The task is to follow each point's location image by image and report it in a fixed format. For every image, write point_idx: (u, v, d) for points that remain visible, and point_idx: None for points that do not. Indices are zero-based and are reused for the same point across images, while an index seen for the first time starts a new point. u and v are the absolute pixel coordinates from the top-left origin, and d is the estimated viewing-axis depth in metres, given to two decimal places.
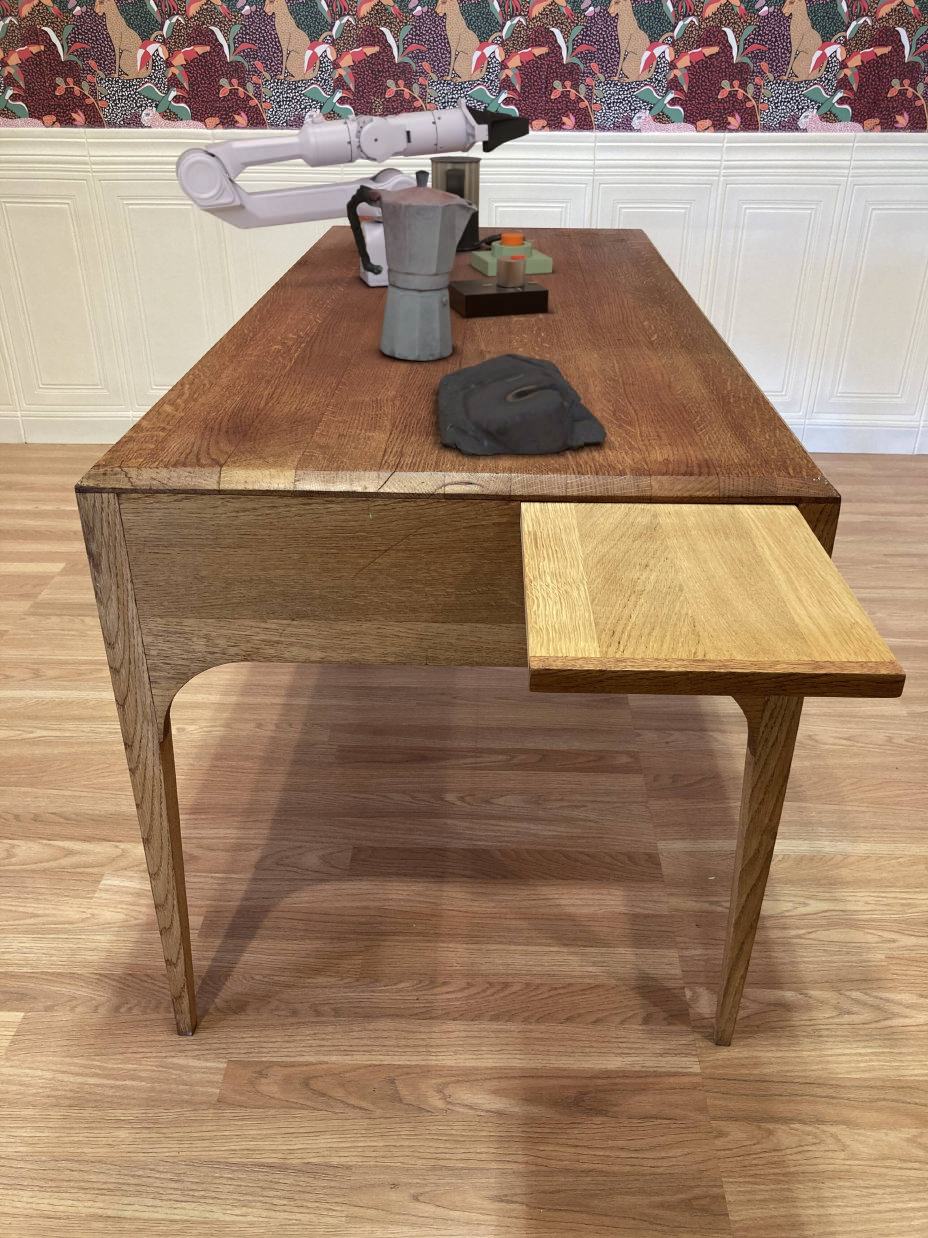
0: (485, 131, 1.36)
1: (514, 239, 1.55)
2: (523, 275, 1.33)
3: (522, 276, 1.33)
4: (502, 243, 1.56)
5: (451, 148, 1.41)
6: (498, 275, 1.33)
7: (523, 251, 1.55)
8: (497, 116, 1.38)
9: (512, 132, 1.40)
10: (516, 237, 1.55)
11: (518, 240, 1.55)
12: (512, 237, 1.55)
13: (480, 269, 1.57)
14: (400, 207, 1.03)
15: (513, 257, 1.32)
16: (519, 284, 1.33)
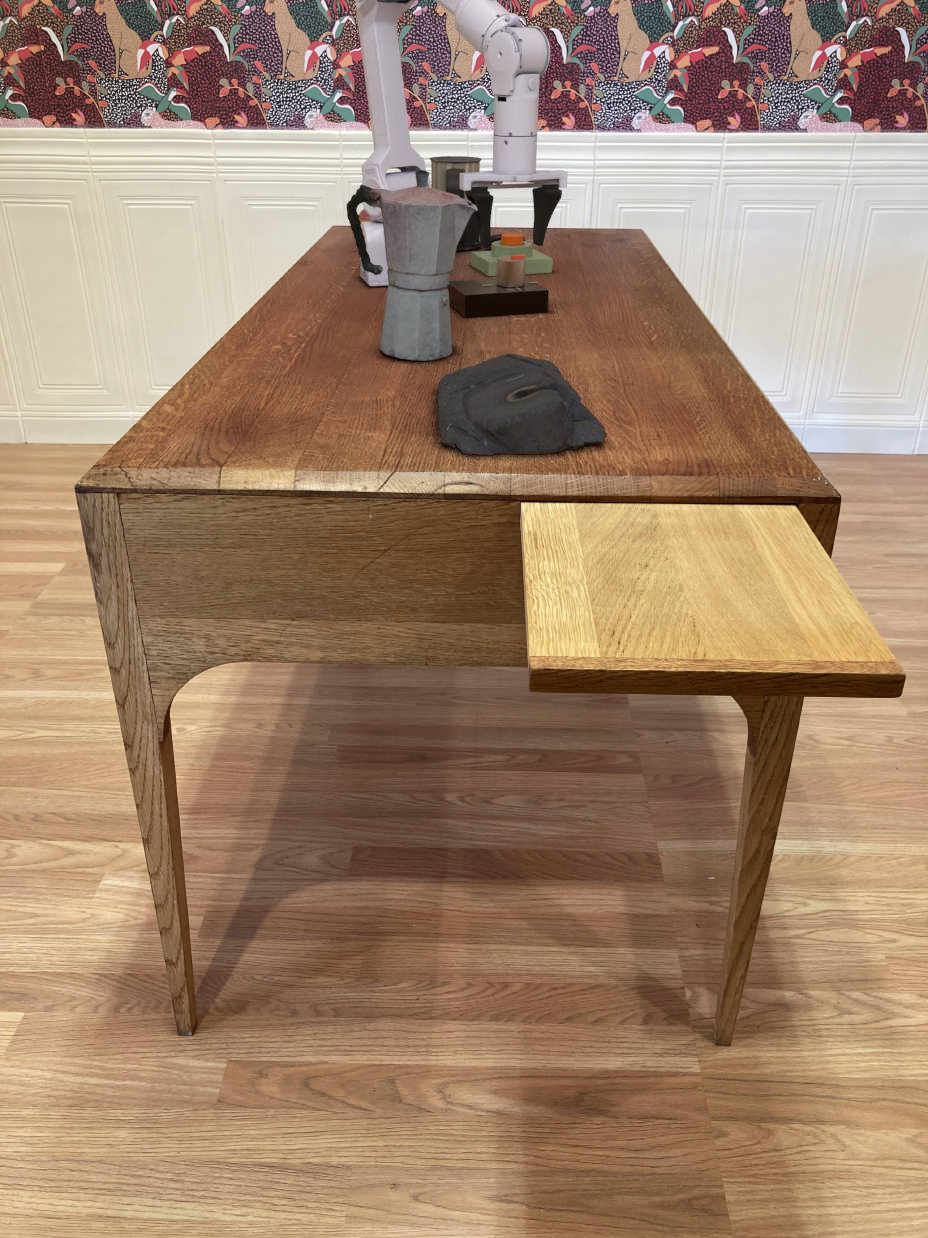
0: (461, 186, 1.26)
1: (514, 239, 1.55)
2: (523, 275, 1.33)
3: (522, 276, 1.33)
4: (502, 243, 1.56)
5: None
6: (498, 275, 1.33)
7: (523, 251, 1.55)
8: (477, 207, 1.26)
9: (480, 225, 1.30)
10: (516, 237, 1.55)
11: (518, 240, 1.55)
12: (512, 237, 1.55)
13: (480, 269, 1.57)
14: (400, 207, 1.03)
15: (513, 257, 1.32)
16: (519, 284, 1.33)
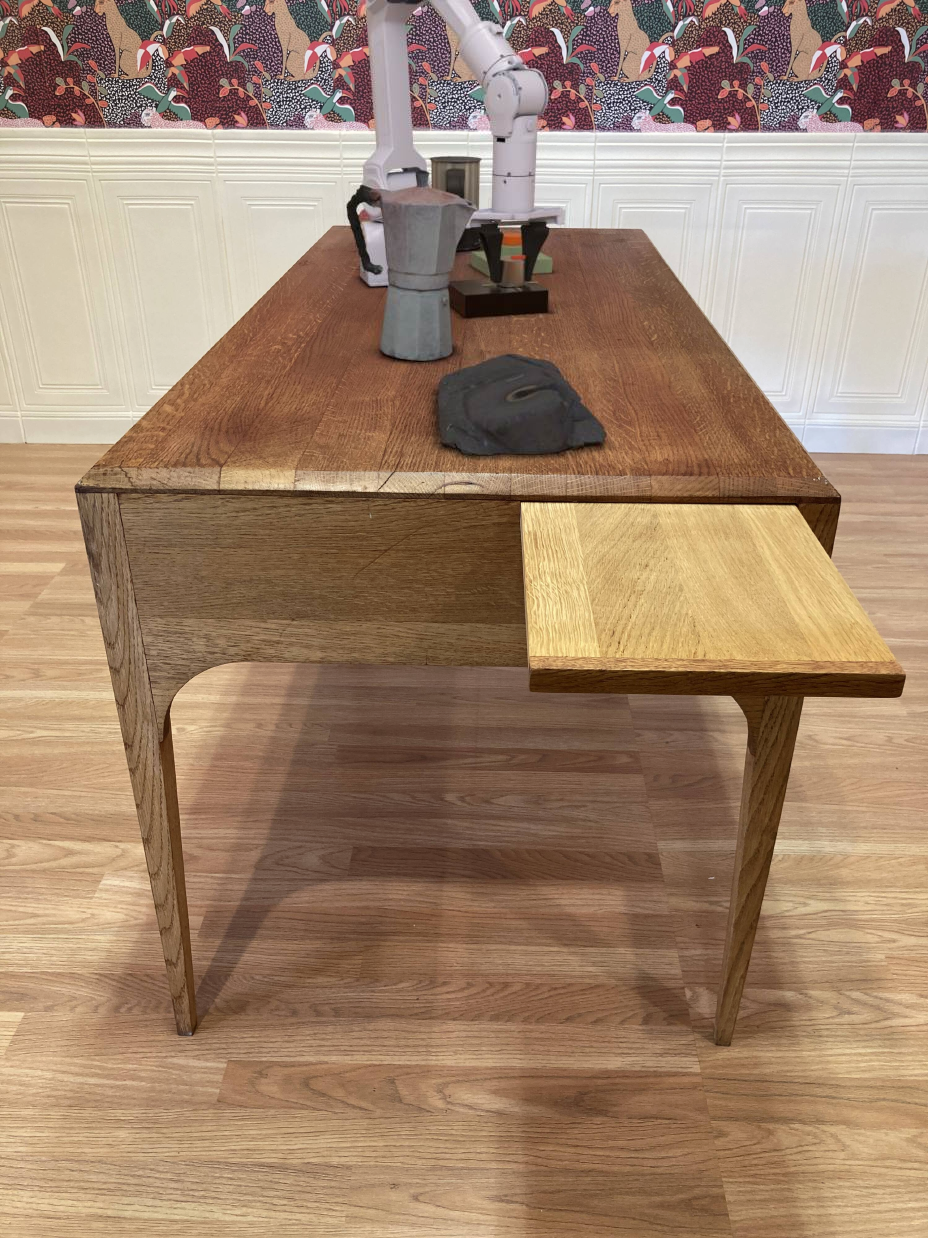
0: None
1: (514, 239, 1.55)
2: (523, 275, 1.33)
3: (522, 276, 1.33)
4: (502, 243, 1.56)
5: None
6: None
7: None
8: (488, 244, 1.29)
9: (490, 260, 1.33)
10: (516, 237, 1.55)
11: (518, 240, 1.55)
12: (512, 237, 1.55)
13: (480, 269, 1.57)
14: (400, 207, 1.03)
15: (513, 257, 1.32)
16: (519, 284, 1.33)
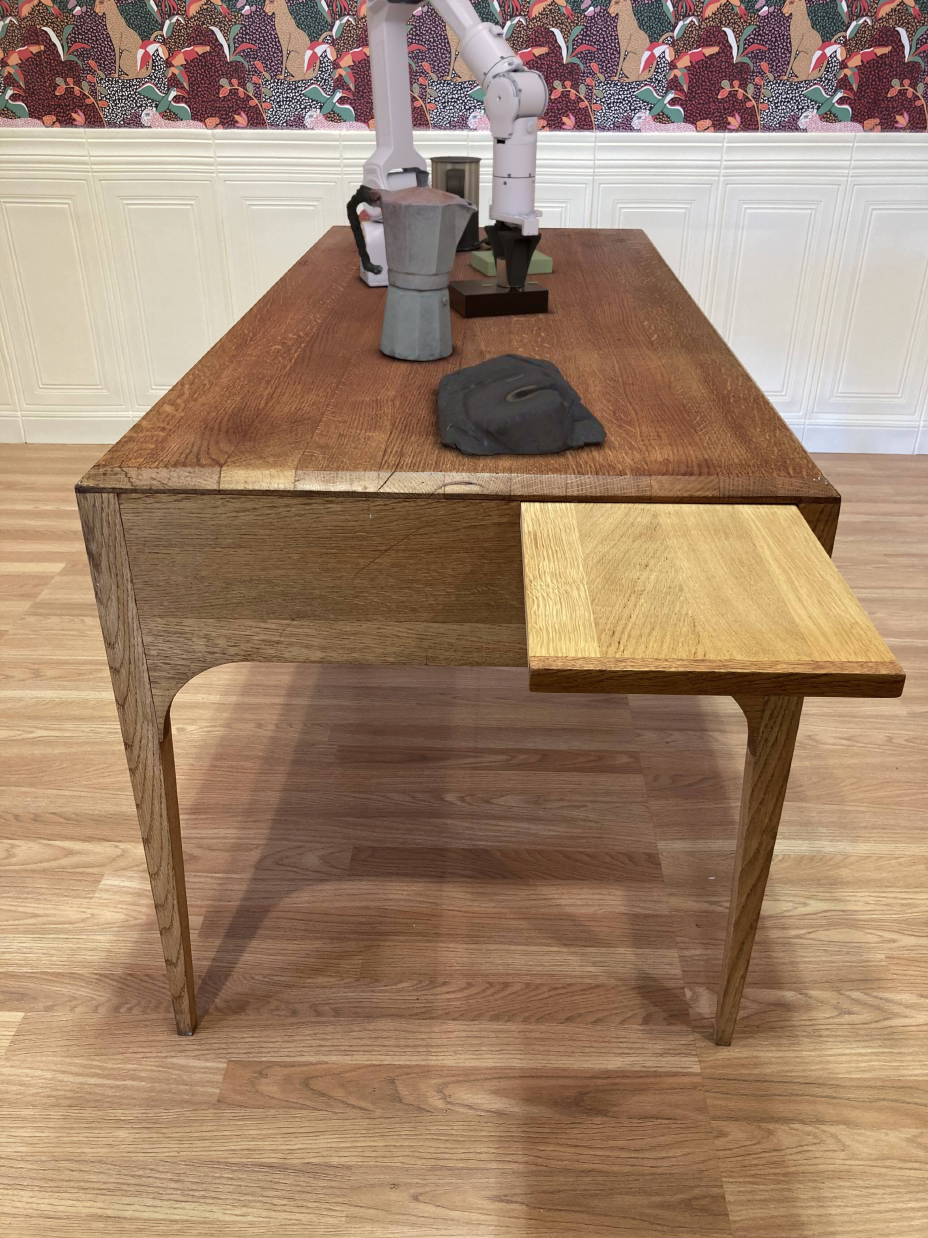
0: (532, 231, 1.24)
1: None
2: None
3: None
4: None
5: (503, 196, 1.26)
6: None
7: None
8: (533, 246, 1.29)
9: (513, 266, 1.30)
10: None
11: None
12: None
13: (480, 269, 1.57)
14: (400, 207, 1.03)
15: None
16: None
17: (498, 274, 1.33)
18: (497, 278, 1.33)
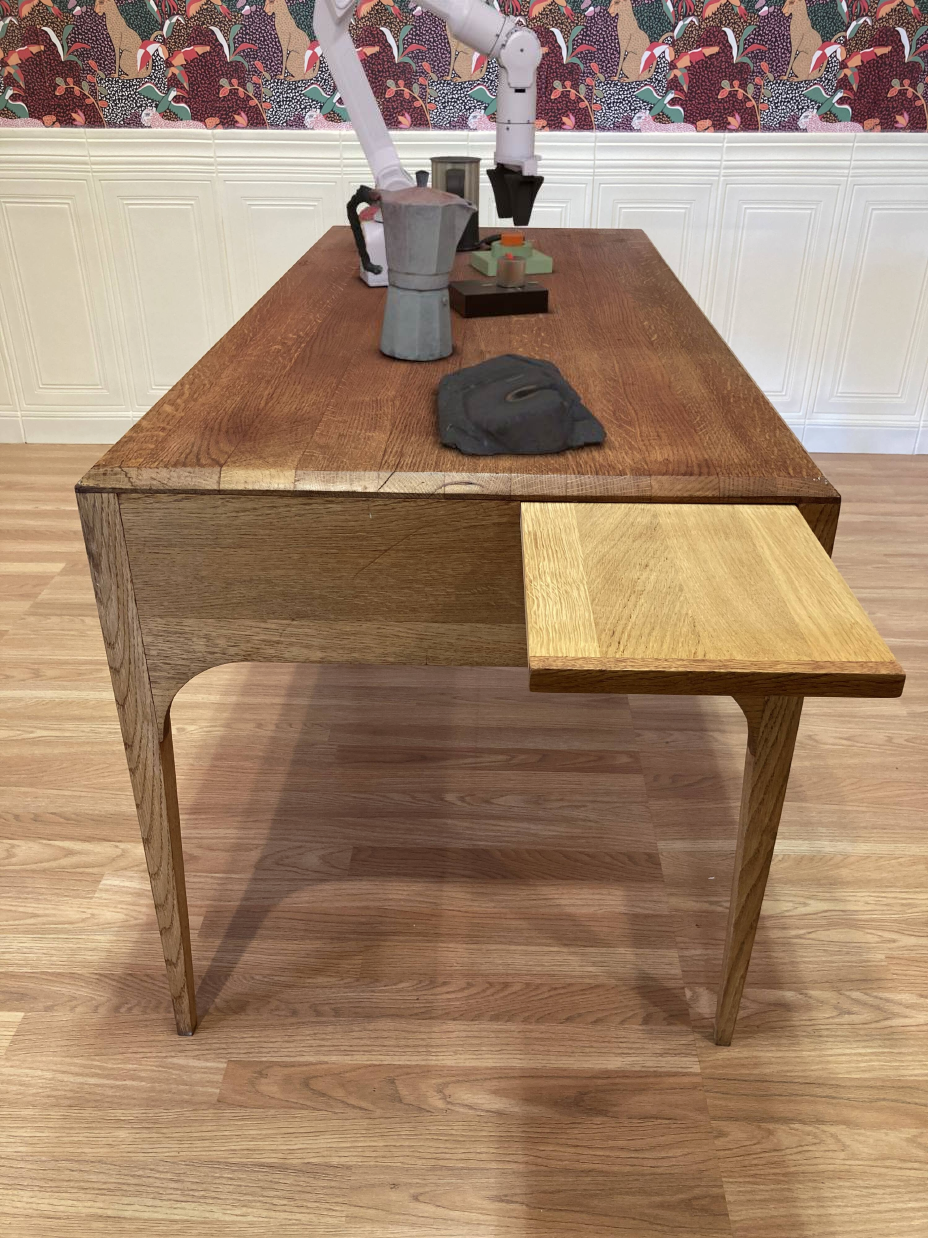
0: (531, 172, 1.38)
1: (514, 239, 1.55)
2: None
3: None
4: (502, 243, 1.56)
5: (505, 140, 1.40)
6: (518, 276, 1.32)
7: (523, 251, 1.55)
8: (537, 188, 1.41)
9: (518, 207, 1.43)
10: (516, 237, 1.55)
11: (518, 240, 1.55)
12: (512, 237, 1.55)
13: (480, 269, 1.57)
14: (400, 207, 1.03)
15: (513, 256, 1.33)
16: None
17: (498, 274, 1.33)
18: (497, 278, 1.33)
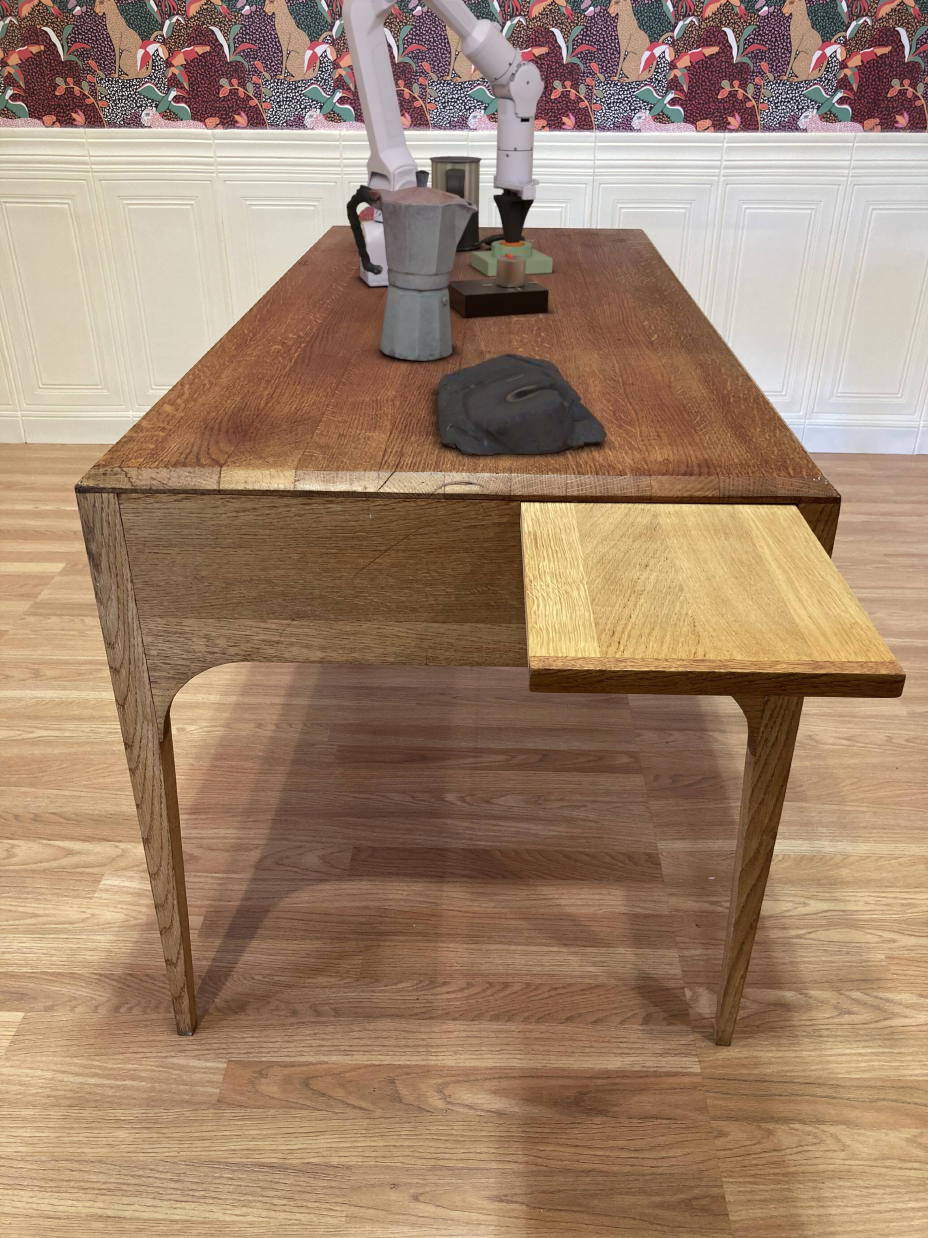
0: (530, 196, 1.47)
1: None
2: None
3: None
4: None
5: (505, 166, 1.49)
6: (518, 276, 1.32)
7: (523, 251, 1.55)
8: (527, 208, 1.53)
9: (510, 225, 1.54)
10: (516, 244, 1.55)
11: None
12: (512, 244, 1.55)
13: (480, 269, 1.57)
14: (400, 207, 1.03)
15: (513, 256, 1.33)
16: None
17: (498, 274, 1.33)
18: (497, 278, 1.33)
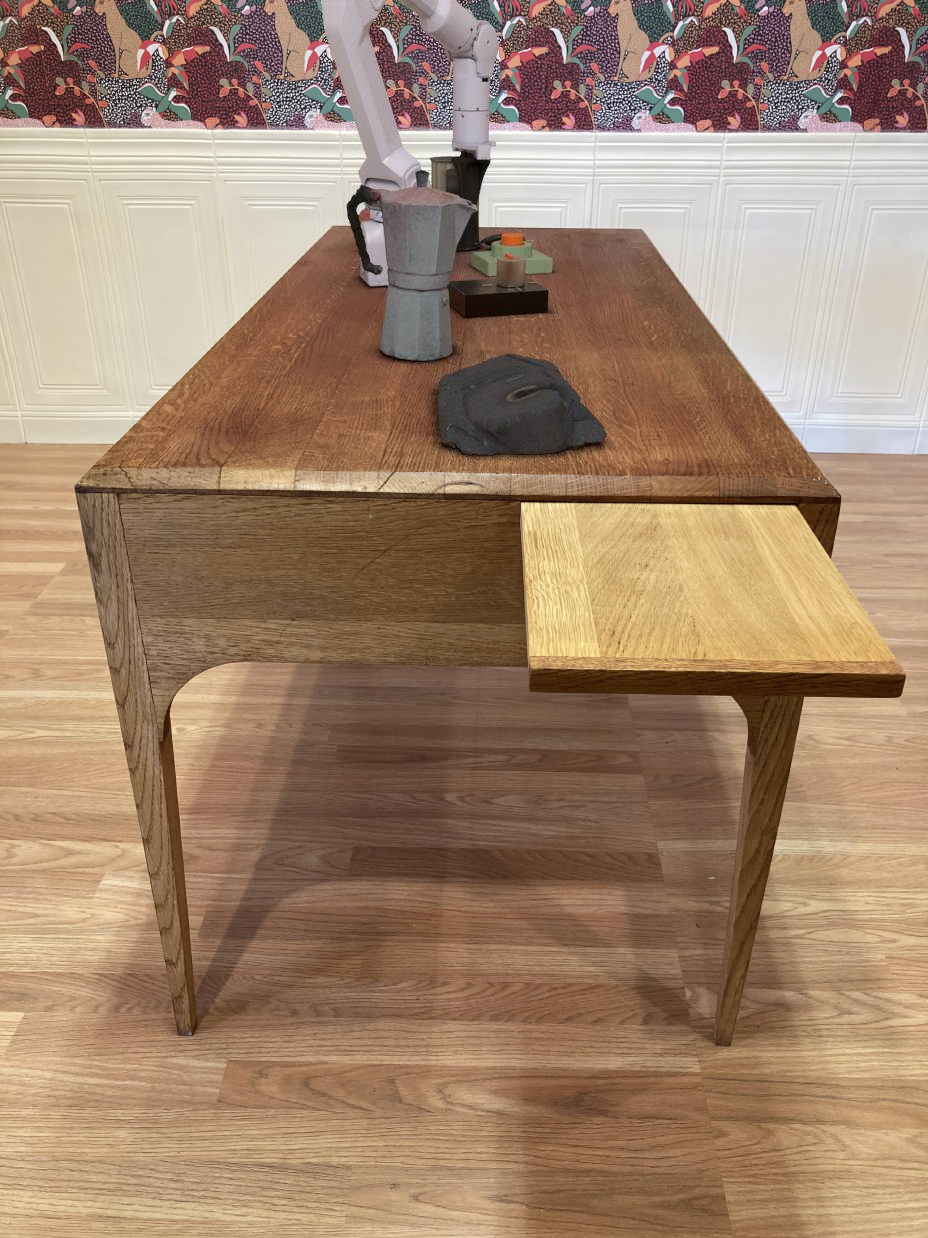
0: (485, 156, 1.47)
1: (514, 239, 1.55)
2: None
3: None
4: (502, 243, 1.56)
5: (461, 127, 1.49)
6: (518, 276, 1.32)
7: (523, 251, 1.55)
8: (484, 170, 1.53)
9: (468, 187, 1.55)
10: (516, 237, 1.55)
11: (518, 240, 1.55)
12: (512, 237, 1.55)
13: (480, 269, 1.57)
14: (400, 207, 1.03)
15: (513, 256, 1.33)
16: None
17: (498, 274, 1.33)
18: (497, 278, 1.33)
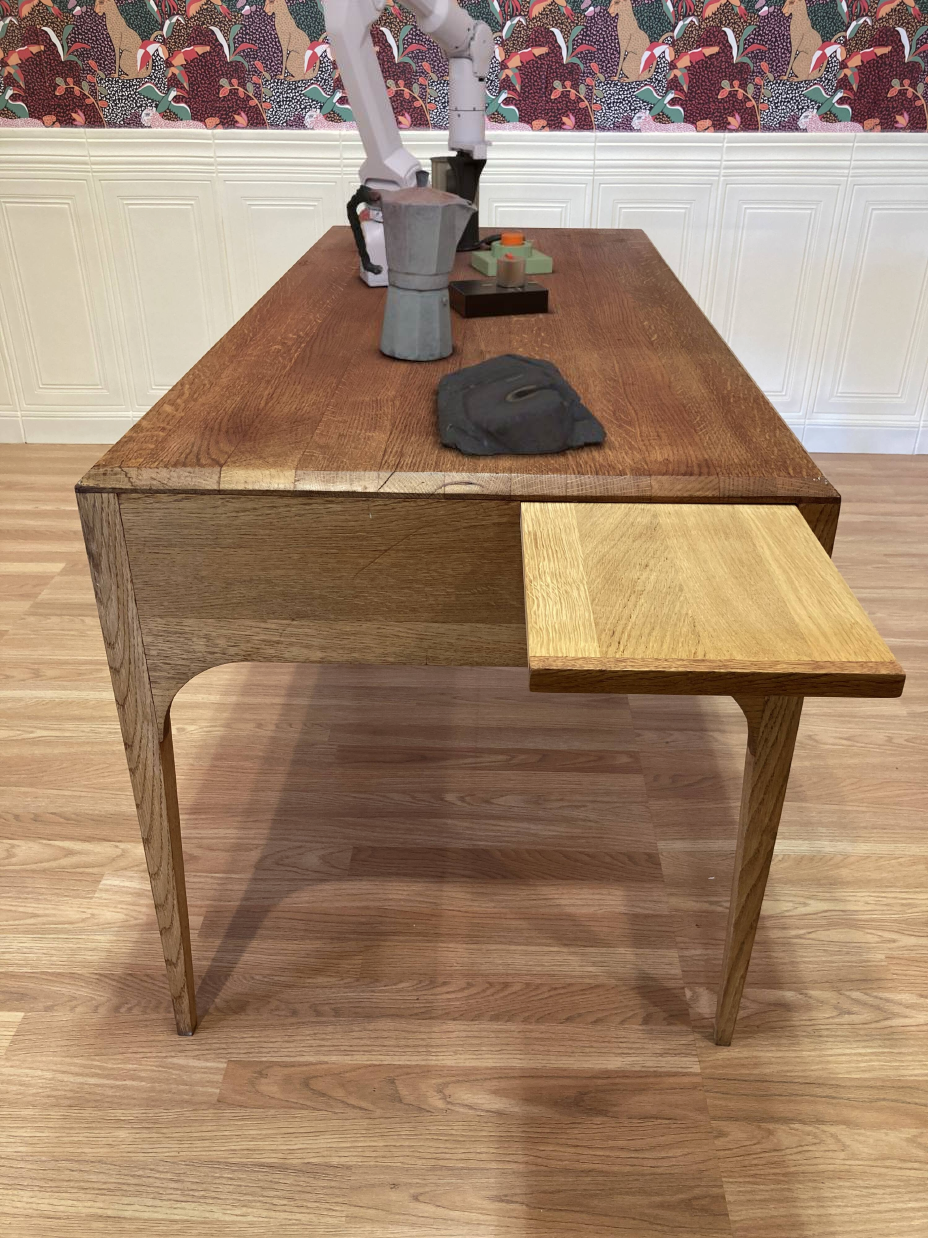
0: (481, 156, 1.47)
1: (514, 239, 1.55)
2: None
3: None
4: (502, 243, 1.56)
5: (457, 126, 1.49)
6: (518, 276, 1.32)
7: (523, 251, 1.55)
8: (480, 169, 1.53)
9: (464, 186, 1.55)
10: (516, 237, 1.55)
11: (518, 240, 1.55)
12: (512, 237, 1.55)
13: (480, 269, 1.57)
14: (400, 207, 1.03)
15: (513, 256, 1.33)
16: None
17: (498, 274, 1.33)
18: (497, 278, 1.33)
